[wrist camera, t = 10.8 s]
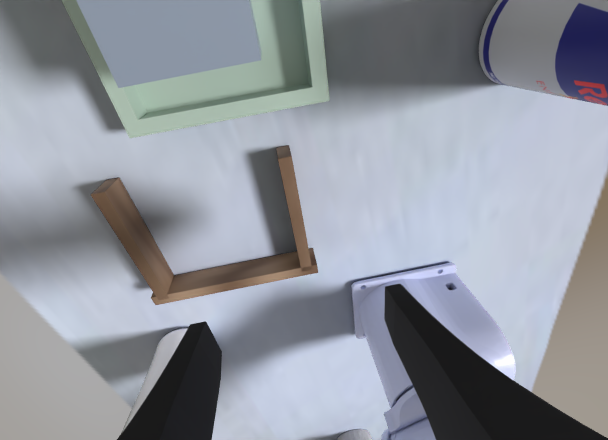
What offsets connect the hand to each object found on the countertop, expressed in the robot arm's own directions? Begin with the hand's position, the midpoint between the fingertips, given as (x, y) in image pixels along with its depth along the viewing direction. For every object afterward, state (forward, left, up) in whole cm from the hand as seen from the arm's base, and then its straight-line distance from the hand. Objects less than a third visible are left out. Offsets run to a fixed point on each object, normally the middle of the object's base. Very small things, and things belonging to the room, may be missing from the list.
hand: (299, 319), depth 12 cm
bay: (+5, 0, -10) cm, 11 cm away
